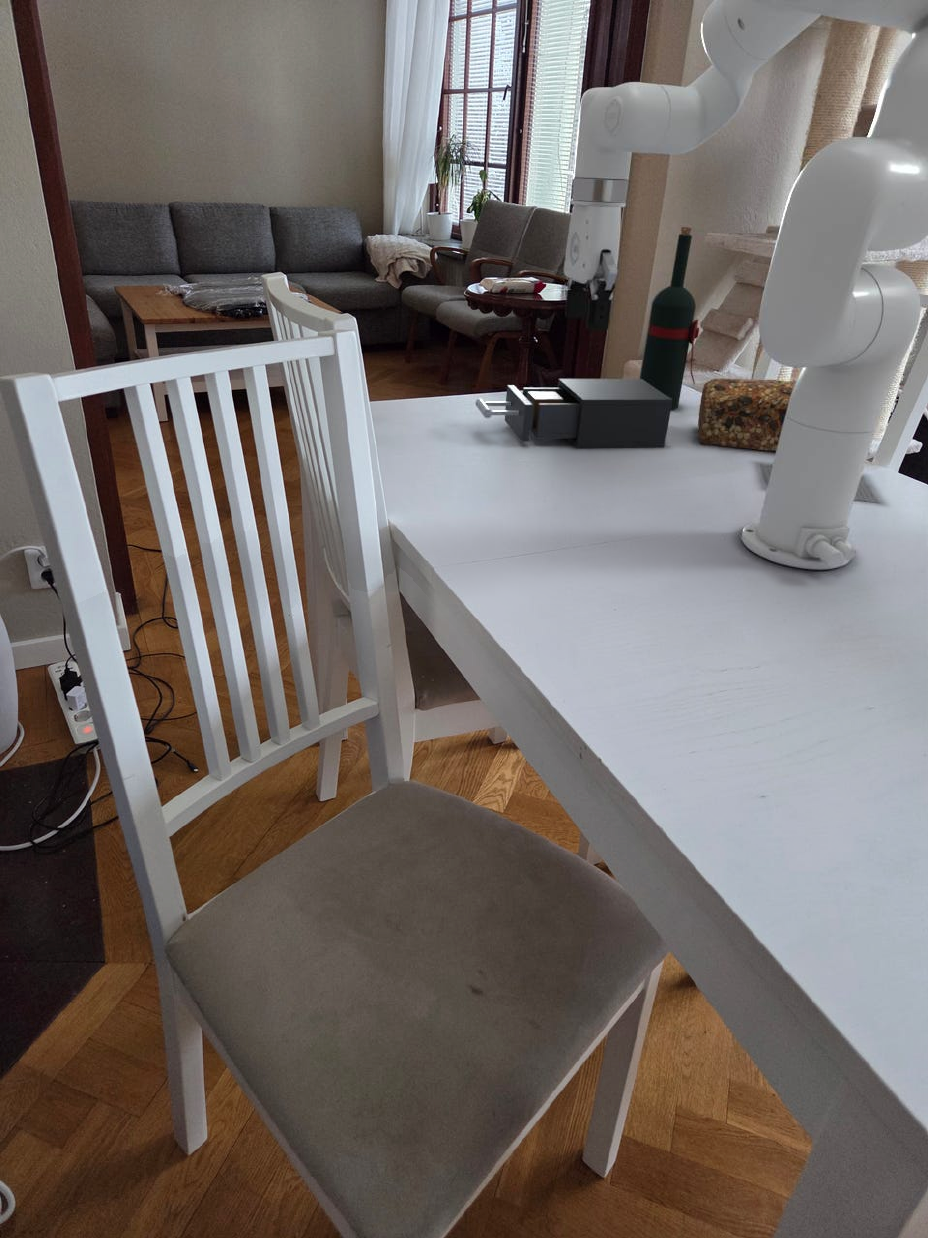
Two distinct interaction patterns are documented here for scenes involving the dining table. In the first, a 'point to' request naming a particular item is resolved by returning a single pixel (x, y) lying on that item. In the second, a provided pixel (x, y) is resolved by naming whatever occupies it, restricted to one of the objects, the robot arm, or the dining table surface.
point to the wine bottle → (671, 329)
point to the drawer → (550, 418)
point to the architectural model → (862, 492)
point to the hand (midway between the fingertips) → (585, 323)
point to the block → (541, 398)
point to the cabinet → (619, 413)
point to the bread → (743, 412)
